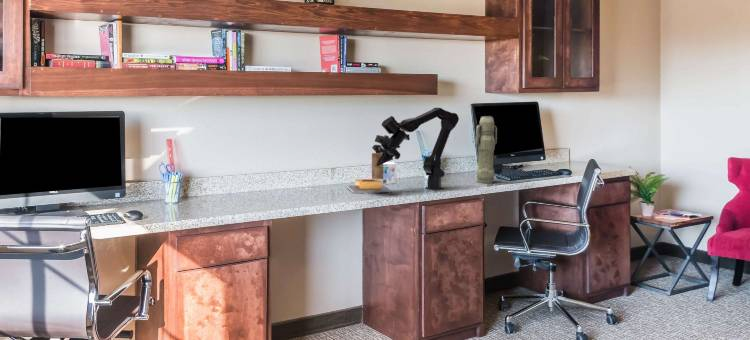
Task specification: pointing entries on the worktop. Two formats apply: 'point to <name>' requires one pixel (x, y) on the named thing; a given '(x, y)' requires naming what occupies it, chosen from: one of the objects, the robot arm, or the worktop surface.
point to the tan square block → (377, 170)
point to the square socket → (368, 186)
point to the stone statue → (486, 149)
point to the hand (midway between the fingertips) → (375, 164)
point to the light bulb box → (388, 173)
